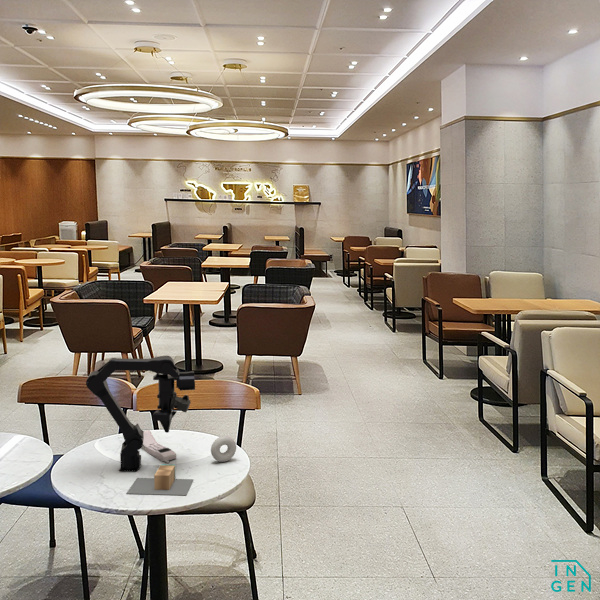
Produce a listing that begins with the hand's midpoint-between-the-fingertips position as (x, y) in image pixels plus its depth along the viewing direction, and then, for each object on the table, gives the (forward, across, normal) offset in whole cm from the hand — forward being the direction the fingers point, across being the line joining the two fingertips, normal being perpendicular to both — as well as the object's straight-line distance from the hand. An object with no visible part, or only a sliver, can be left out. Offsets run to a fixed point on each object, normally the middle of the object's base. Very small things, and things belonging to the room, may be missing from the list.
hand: (167, 432), depth 244 cm
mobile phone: (+14, +13, +7) cm, 20 cm away
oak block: (+10, -11, -3) cm, 16 cm away
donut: (+13, +6, -20) cm, 25 cm away
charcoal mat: (+13, -18, -2) cm, 23 cm away
